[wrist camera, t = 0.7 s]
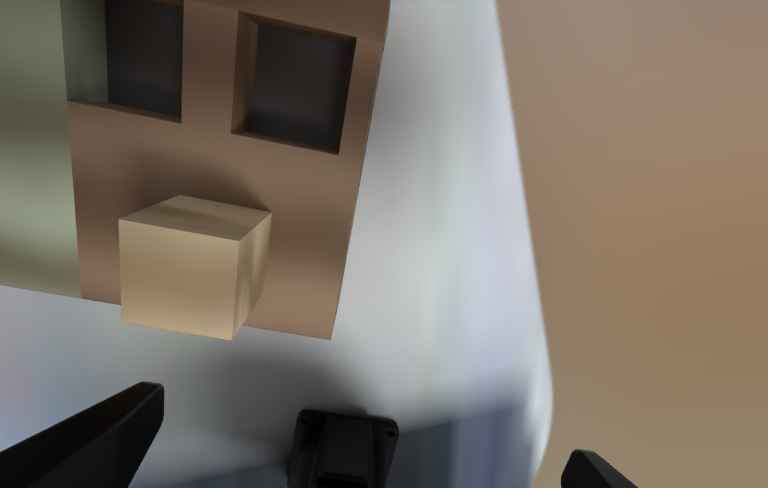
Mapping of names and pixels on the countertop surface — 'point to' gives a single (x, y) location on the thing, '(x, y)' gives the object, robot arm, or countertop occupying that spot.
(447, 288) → the countertop surface
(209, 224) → the maple block
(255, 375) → the countertop surface
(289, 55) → the trap box
